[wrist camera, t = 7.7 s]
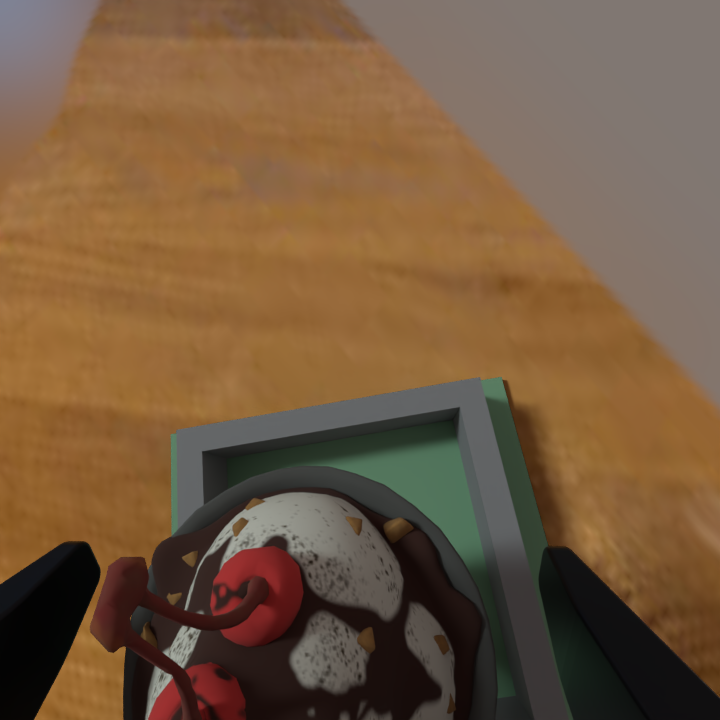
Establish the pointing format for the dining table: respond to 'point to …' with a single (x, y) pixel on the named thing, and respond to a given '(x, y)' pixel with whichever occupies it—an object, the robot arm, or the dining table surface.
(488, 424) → the rimmed mat
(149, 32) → the dining table surface
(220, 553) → the sundae
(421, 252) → the dining table surface
